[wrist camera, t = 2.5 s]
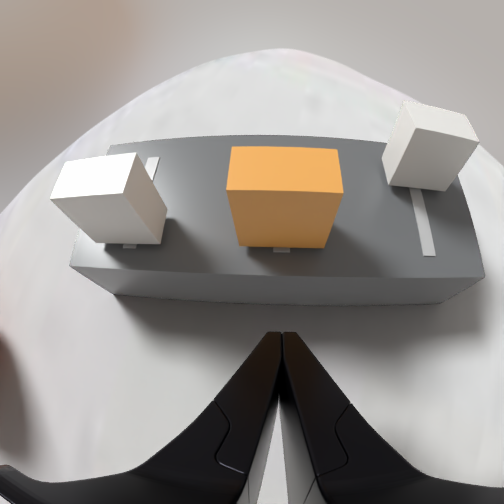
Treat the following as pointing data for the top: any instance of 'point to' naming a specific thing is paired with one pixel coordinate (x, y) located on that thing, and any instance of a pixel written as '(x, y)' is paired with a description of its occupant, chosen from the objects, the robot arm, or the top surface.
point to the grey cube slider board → (283, 258)
